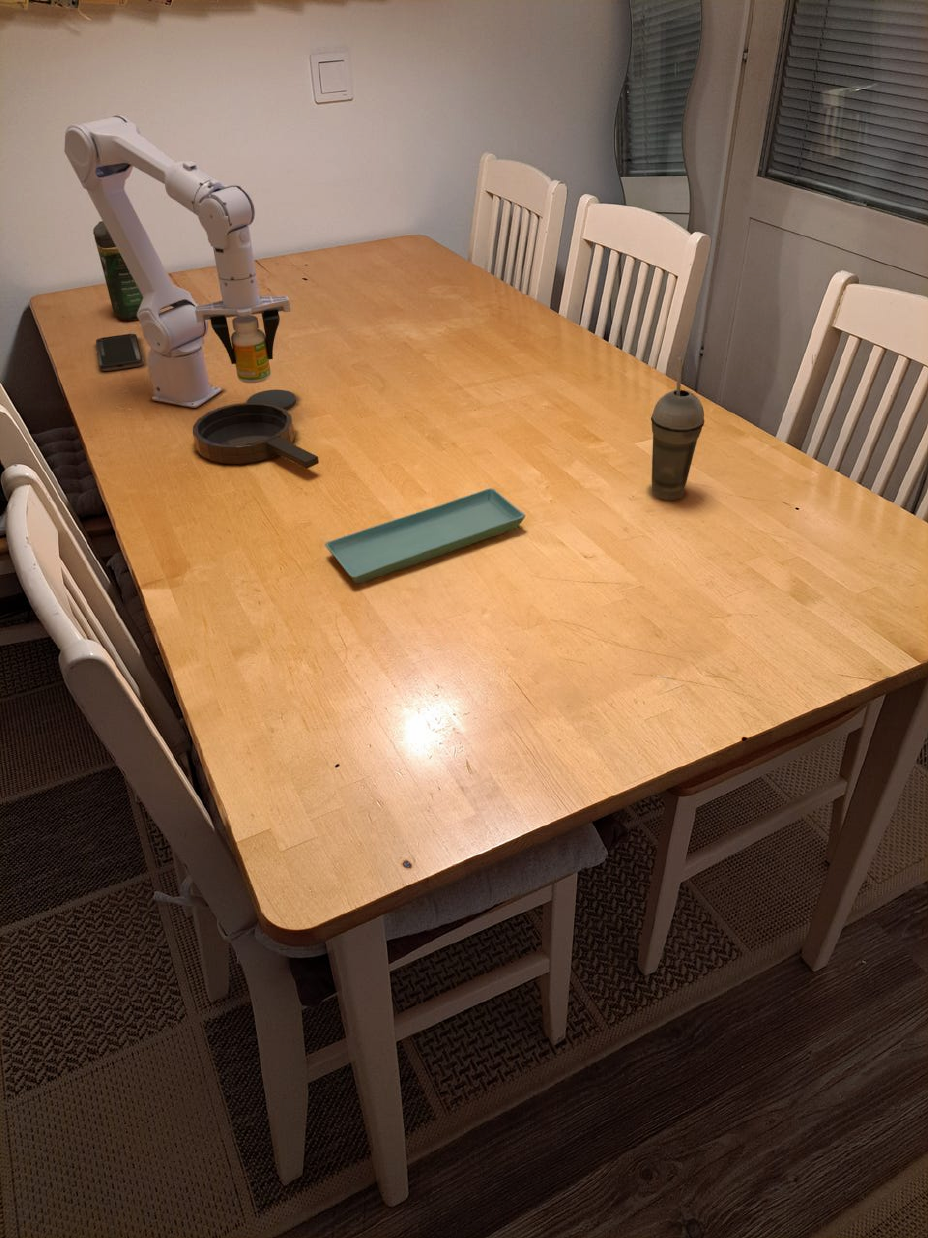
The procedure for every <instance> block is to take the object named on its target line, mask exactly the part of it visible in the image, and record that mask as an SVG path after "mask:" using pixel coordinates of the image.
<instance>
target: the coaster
mask: <svg viewBox="0 0 928 1238" xmlns="http://www.w3.org/2000/svg"><path fill="white" fill-rule="evenodd" d="M246 403H266V404H271V405H276V406H279V407H281V408H283V409H285V410H286V411H287V410H289V409H291V408H293V407H294V406H295V405H296V403H297V397H296V395H295V393H293V392H291V391H289V390H285V389H267V390H263V391H259V392H257V393H254V394H252V395H251V396H249V397H248V399H247V401H246Z"/></svg>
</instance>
